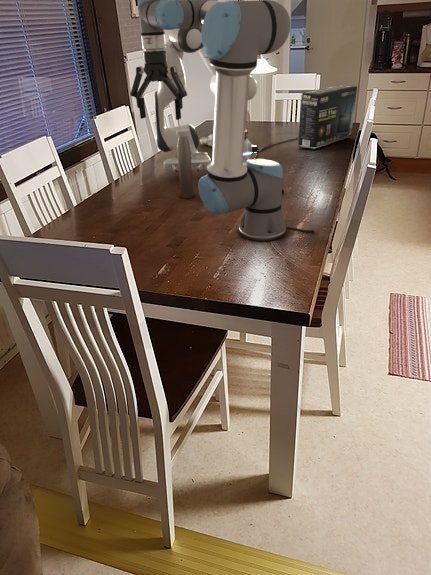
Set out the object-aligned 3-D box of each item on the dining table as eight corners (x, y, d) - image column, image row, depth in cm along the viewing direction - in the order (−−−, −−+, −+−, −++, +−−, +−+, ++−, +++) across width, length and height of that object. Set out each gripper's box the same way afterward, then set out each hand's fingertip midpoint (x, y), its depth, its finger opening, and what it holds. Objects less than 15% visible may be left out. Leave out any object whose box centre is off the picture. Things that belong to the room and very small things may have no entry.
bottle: (194, 194, 183) (190, 129, 171) (191, 198, 179) (187, 132, 166) (182, 193, 184) (177, 129, 171) (179, 198, 180) (174, 132, 167)
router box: (314, 151, 231) (318, 94, 217) (296, 148, 237) (299, 92, 224) (352, 138, 251) (358, 85, 238) (335, 135, 258) (340, 83, 245)
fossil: (223, 141, 238) (204, 123, 241) (212, 159, 245) (194, 141, 248) (240, 140, 252) (222, 123, 255) (230, 156, 258) (212, 139, 262)
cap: (190, 133, 171) (190, 128, 170) (187, 136, 167) (187, 131, 166) (178, 133, 172) (178, 128, 171) (175, 136, 168) (174, 131, 167)
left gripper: (163, 154, 200) (161, 163, 188) (210, 152, 200) (211, 161, 188) (165, 168, 203) (162, 178, 191) (211, 166, 203) (211, 176, 191)
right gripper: (114, 51, 150) (123, 119, 161) (185, 50, 142) (189, 121, 153) (126, 49, 156) (134, 115, 167) (194, 48, 148) (197, 117, 159)
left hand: (187, 169), depth 189 cm, fingers open, 8 cm apart
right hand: (160, 118), depth 160 cm, fingers open, 13 cm apart
